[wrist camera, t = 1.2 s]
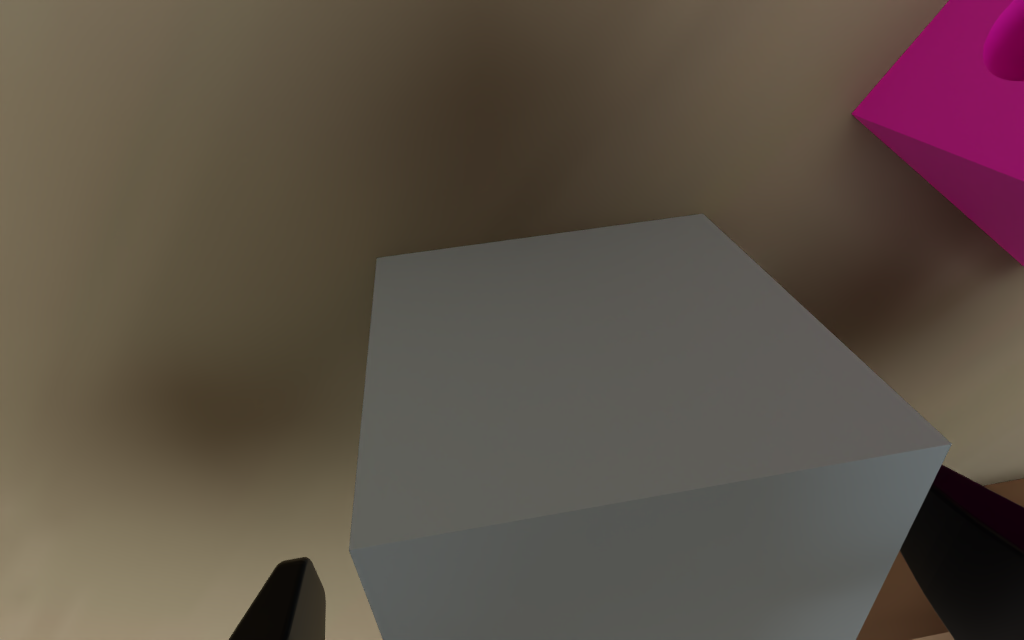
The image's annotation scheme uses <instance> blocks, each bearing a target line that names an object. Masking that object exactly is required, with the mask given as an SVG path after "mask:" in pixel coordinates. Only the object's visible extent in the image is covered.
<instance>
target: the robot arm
mask: <svg viewBox="0 0 1024 640" xmlns="http://www.w3.org/2000/svg"><path fill="white" fill-rule="evenodd" d="M900 552H901V554H902V556H903V557H904V559H905V561H906V563H907V565H908V567H909V568H910V570H911V572H912V574H913V576H914V578H915V579H916V581H917V583H918V584H919V586H920V588H921V590H922V591H923V593H924V595H925V596H926V598H927V599H928V601H929V602H930V604H931V606H932V607H933V609H934V610H935V612H936V613H937V615H938V616H939V618H940V619H941V621H942V622H943V624H944V625H945V627H946V628H947V629H948V631H949V632H950V634H951V635H952V637H953V638H954V640H1024V507H1022V506H1021V505H1019V504H1017V503H1015V502H1013V501H1011V500H1009V499H1007V498H1005V497H1003V496H1001V495H999V494H997V493H995V492H994V491H992V490H990V489H988V488H986V487H984V486H982V485H980V484H978V483H976V482H974V481H972V480H970V479H969V478H967V477H965V476H963V475H961V474H959V473H957V472H955V471H953V470H951V469H949V468H947V467H945V466H943V465H941V467H940V469H939V471H938V473H937V475H936V477H935V479H934V481H933V483H932V485H931V487H930V489H929V491H928V493H927V495H926V497H925V499H924V502H923V504H922V506H921V508H920V510H919V512H918V514H917V516H916V518H915V520H914V522H913V524H912V526H911V528H910V530H909V532H908V534H907V536H906V538H905V540H904V542H903V544H902V546H901V549H900ZM325 612H326V600H325V592H324V588H323V586H322V583H321V581H320V579H319V577H318V574H317V572H316V570H315V568H314V566H313V563H312V561H311V560H310V559H309V558H307V557H302V558H296V559H291V560H285V561H282V562H281V563H279V564H278V565H277V566H276V568H275V569H274V571H273V572H272V574H271V575H270V577H269V578H268V580H267V581H266V583H265V584H264V586H263V588H262V589H261V591H260V592H259V594H258V595H257V597H256V598H255V600H254V601H253V603H252V604H251V606H250V608H249V609H248V611H247V612H246V614H245V615H244V617H243V618H242V620H241V621H240V623H239V624H238V626H237V628H236V629H235V631H234V632H233V634H232V635H231V637H230V638H229V640H325Z"/></svg>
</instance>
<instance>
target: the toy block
mask: <svg viewBox="0 0 1024 640" xmlns="http://www.w3.org/2000/svg"><path fill="white" fill-rule="evenodd" d="M852 115H853V116H854V117H855V118H856V119H857V120H859V121H860V122H861V123H862V124H863V125H864V126H865V127H866V128H868V129H869V130H870V131H871V132H872V133H873V134H874V135H876V136H877V137H878V138H879V139H880V140H881V141H882V142H883V143H885V144H886V145H887V146H888V147H889V148H890V149H891V150H892V151H894V152H895V153H896V154H897V155H898V156H899V157H900V158H902V159H903V160H904V161H905V162H906V163H907V164H908V165H909V166H911V167H912V168H913V169H914V170H915V171H916V172H917V173H918V174H920V175H921V176H922V177H923V178H924V179H925V180H926V181H928V182H929V183H930V184H931V185H932V186H933V187H934V188H935V189H937V190H938V191H939V192H940V193H941V194H942V195H943V196H944V197H946V198H947V199H948V200H949V201H950V202H951V203H952V204H953V205H955V206H956V207H957V208H958V209H959V210H960V211H961V212H963V213H964V214H965V215H966V216H967V217H968V218H969V219H970V220H972V221H973V222H974V223H975V224H976V225H977V226H978V227H979V228H981V229H982V230H983V231H984V232H985V233H986V234H987V235H989V236H990V237H991V238H992V239H993V240H994V241H995V242H996V243H998V244H999V245H1000V246H1001V247H1002V248H1003V249H1004V250H1005V251H1007V252H1008V253H1009V254H1010V255H1011V256H1012V257H1013V258H1015V259H1016V260H1017V261H1018V262H1019V263H1020V264H1021V265H1022V266H1024V0H949V1H948V2H947V4H946V5H945V6H944V7H943V8H942V9H941V11H940V12H939V13H938V14H937V15H936V16H935V17H934V19H933V20H932V21H931V22H930V23H929V24H928V26H927V27H926V28H925V29H924V30H923V31H922V33H921V34H920V35H919V36H918V37H917V38H916V40H915V41H914V42H913V43H912V44H911V45H910V46H909V48H908V49H907V50H906V51H905V52H904V53H903V55H902V56H901V57H900V58H899V59H898V60H897V62H896V63H895V64H894V65H893V66H892V67H891V69H890V70H889V71H888V72H887V73H886V74H885V75H884V77H883V78H882V79H881V80H880V81H879V82H878V84H877V85H876V86H875V87H874V88H873V89H872V91H871V92H870V93H869V94H868V95H867V96H866V97H865V99H864V100H863V101H862V102H861V103H860V104H859V106H858V107H857V108H856V109H855V110H854V111H853V113H852Z"/></svg>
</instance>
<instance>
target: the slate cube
mask: <svg viewBox="0 0 1024 640" xmlns="http://www.w3.org/2000/svg"><path fill="white" fill-rule="evenodd" d="M950 446H951V443H950V442H949V441H948V440H947V439H946V438H945V437H944V436H943V435H942V434H940V433H939V432H938V431H937V430H936V429H935V428H934V427H933V426H932V425H931V424H930V423H929V422H928V421H926V420H925V419H924V418H923V417H922V416H921V415H920V414H919V413H918V412H917V411H916V410H915V409H913V408H912V407H911V406H910V405H909V404H908V403H907V402H906V401H905V400H904V399H903V398H902V397H901V396H899V395H898V394H897V393H896V392H895V391H894V390H893V389H892V388H891V387H890V386H889V385H888V384H886V383H885V382H884V381H883V380H882V379H881V378H880V377H879V376H878V375H877V374H876V373H875V372H873V371H872V370H871V369H870V368H869V367H868V366H867V365H866V364H865V363H864V362H863V361H862V360H861V359H859V358H858V357H857V356H856V355H855V354H854V353H853V352H852V351H851V350H850V349H849V348H848V347H846V346H845V345H844V344H843V343H842V342H841V341H840V340H839V339H838V338H837V337H836V336H835V335H834V334H832V333H831V332H830V331H829V330H828V329H827V328H826V327H825V326H824V325H823V324H822V323H821V322H819V321H818V320H817V319H816V318H815V317H814V316H813V315H812V314H811V313H810V312H809V311H808V310H807V309H805V308H804V307H803V306H802V305H801V304H800V303H799V302H798V301H797V300H796V299H795V298H794V297H792V296H791V295H790V294H789V293H788V292H787V291H786V290H785V289H784V288H783V287H782V286H781V285H780V284H778V283H777V282H776V281H775V280H774V279H773V278H772V277H771V276H770V275H769V274H768V273H767V272H765V271H764V270H763V269H762V268H761V267H760V266H759V265H758V264H757V263H756V262H755V261H754V260H753V259H751V258H750V257H749V256H748V255H747V254H746V253H745V252H744V251H743V250H742V249H741V248H740V247H738V246H737V245H736V244H735V243H734V242H733V241H732V240H731V239H730V238H729V237H728V236H727V235H726V234H724V233H723V232H722V231H721V230H720V229H719V228H718V227H717V226H716V225H715V224H714V223H713V222H711V221H710V220H709V219H708V218H707V217H706V216H705V215H704V214H696V215H689V216H682V217H674V218H667V219H660V220H652V221H645V222H637V223H630V224H623V225H615V226H608V227H601V228H593V229H586V230H579V231H571V232H564V233H556V234H549V235H542V236H534V237H527V238H520V239H512V240H505V241H498V242H490V243H483V244H475V245H468V246H461V247H453V248H446V249H439V250H431V251H424V252H417V253H409V254H402V255H395V256H387V257H380V258H377V261H376V272H375V282H374V293H373V303H372V314H371V325H370V335H369V346H368V356H367V367H366V377H365V388H364V398H363V409H362V419H361V430H360V440H359V451H358V461H357V472H356V482H355V493H354V503H353V514H352V525H351V535H350V546H349V551H350V554H351V557H352V559H353V562H354V565H355V567H356V570H357V572H358V575H359V578H360V580H361V583H362V586H363V588H364V591H365V593H366V596H367V599H368V601H369V604H370V607H371V609H372V612H373V614H374V617H375V620H376V622H377V625H378V628H379V630H380V633H381V635H382V638H383V640H856V638H857V636H858V634H859V632H860V630H861V628H862V626H863V624H864V622H865V620H866V618H867V616H868V614H869V612H870V610H871V608H872V606H873V604H874V602H875V600H876V598H877V595H878V593H879V591H880V589H881V587H882V585H883V583H884V581H885V579H886V577H887V575H888V573H889V571H890V569H891V567H892V565H893V563H894V561H895V559H896V557H897V555H898V553H899V551H900V549H901V546H902V544H903V542H904V540H905V538H906V536H907V534H908V532H909V530H910V528H911V526H912V524H913V522H914V520H915V518H916V516H917V514H918V512H919V510H920V508H921V506H922V504H923V502H924V499H925V497H926V495H927V493H928V491H929V489H930V487H931V485H932V483H933V481H934V479H935V477H936V475H937V473H938V471H939V469H940V467H941V465H942V463H943V461H944V459H945V457H946V455H947V453H948V450H949V448H950Z"/></svg>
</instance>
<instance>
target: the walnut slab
mask: <svg viewBox="0 0 1024 640" xmlns="http://www.w3.org/2000/svg"><path fill="white" fill-rule="evenodd" d="M984 487H986V488H988V489H990V490H992V491H994V492H995V493H997V494H999V495H1001V496H1003V497H1005V498H1007V499H1009V500H1011V501H1013V502H1015V503H1017V504H1019V505H1021V506H1022V507H1024V479H1018V480H1013V481H1007V482H1002V483H996V484H991V485H986V486H984ZM856 640H954V638H953V637H952V635H951V634H950V632H949V631H948V629H947V628H946V627H945V625H944V624H943V622H942V621H941V619H940V618H939V616H938V615H937V613H936V612H935V610H934V609H933V607H932V606H931V604H930V602H929V601H928V599H927V598H926V596H925V595H924V593H923V591H922V590H921V588H920V586H919V584H918V583H917V581H916V579H915V578H914V576H913V574H912V572H911V570H910V568H909V567H908V565H907V563H906V561H905V559H904V557H903V556H902V554H901V552H900V551H899V553H898V555H897V557H896V559H895V561H894V563H893V565H892V567H891V569H890V571H889V573H888V575H887V577H886V579H885V581H884V583H883V585H882V587H881V589H880V591H879V593H878V595H877V598H876V600H875V602H874V604H873V606H872V608H871V610H870V612H869V614H868V616H867V618H866V620H865V622H864V624H863V626H862V628H861V630H860V632H859V634H858V636H857V638H856Z"/></svg>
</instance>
